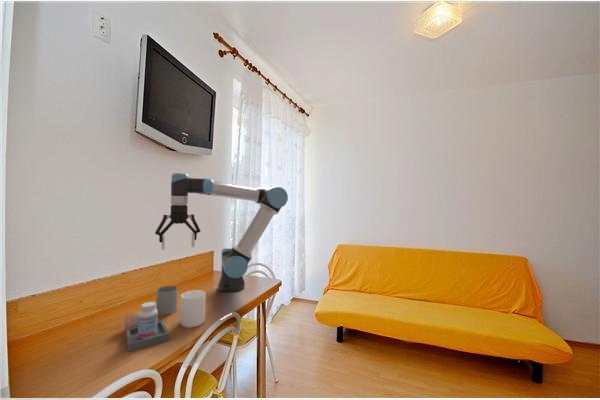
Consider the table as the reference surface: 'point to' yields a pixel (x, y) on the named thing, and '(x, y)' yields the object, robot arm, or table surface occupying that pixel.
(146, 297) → the table surface
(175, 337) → the table surface
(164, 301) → the cup
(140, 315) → the pill bottle
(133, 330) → the tray
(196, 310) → the mug
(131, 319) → the beige block
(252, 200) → the robot arm
